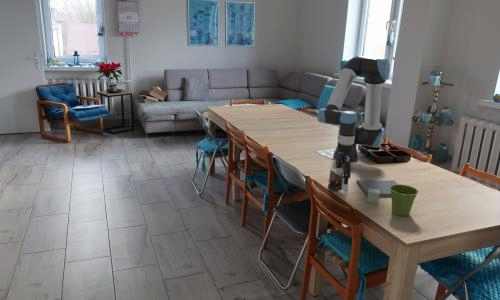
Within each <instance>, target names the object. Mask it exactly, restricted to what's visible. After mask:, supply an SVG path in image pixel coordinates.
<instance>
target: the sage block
mask: <svg viewBox="0 0 500 300" xmlns="http://www.w3.org/2000/svg"><path fill="white" fill-rule="evenodd" d="M379 194H380V190H377V189H370V188H369V190H368V196H367V199H366V202H367V203H372V204H379V200H380V196H379Z"/></svg>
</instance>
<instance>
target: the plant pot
mask: <svg viewBox="0 0 500 300" xmlns="http://www.w3.org/2000/svg"><path fill="white" fill-rule="evenodd" d="M390 190H391V196H392V197H391V211H392V213H393V214H394V215H395V216H396V215H397V216H399V217H407V216H409V215H410V213H411V211H412V207H413V204H414V202H415V199H416V197H417V195H418V194H419V191H420V190H418V189H417V188H415V187H413V186H410V185H407V184H400V183H399V184H398V183H397V184H396V185H392V186H390Z"/></svg>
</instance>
